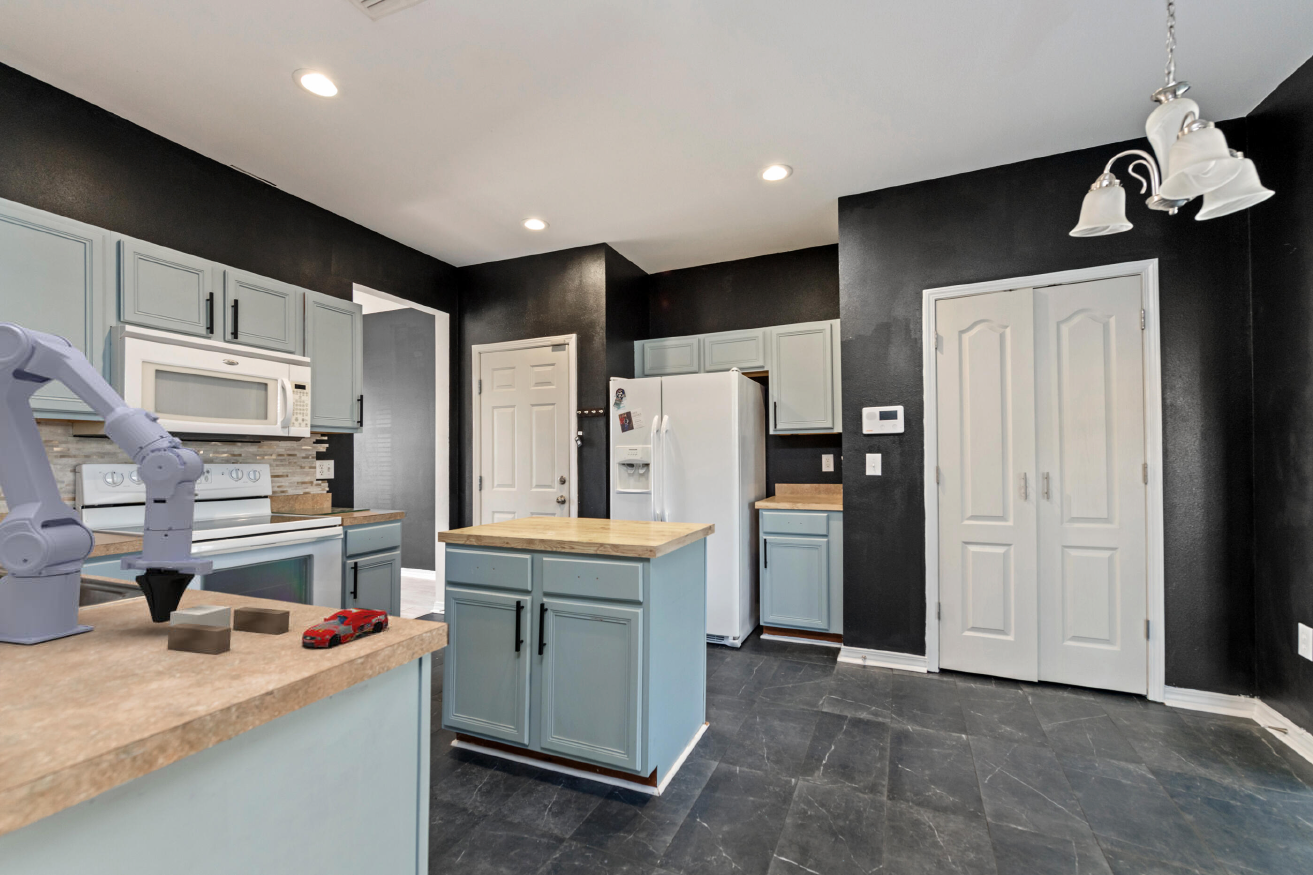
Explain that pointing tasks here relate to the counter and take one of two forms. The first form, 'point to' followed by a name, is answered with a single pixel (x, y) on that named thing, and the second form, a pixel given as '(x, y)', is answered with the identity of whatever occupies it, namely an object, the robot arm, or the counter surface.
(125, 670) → the counter surface
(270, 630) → the parallel wooden rails
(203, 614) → the off-white block
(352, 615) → the race car
